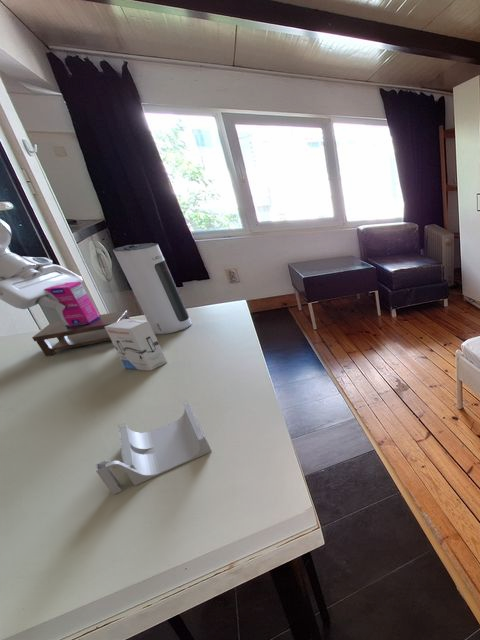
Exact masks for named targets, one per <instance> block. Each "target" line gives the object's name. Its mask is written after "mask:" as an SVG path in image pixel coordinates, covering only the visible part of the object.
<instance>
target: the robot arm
mask: <svg viewBox="0 0 480 640" xmlns="http://www.w3.org/2000/svg"><path fill="white" fill-rule="evenodd" d="M12 234H13V232H12V229H11V227H10V225H9V223H7V222H6V221H5V220H3V219H2V218H0V300H1V301H2V302H5V303H6V304H7V305H10V306H12V307H13V308H15V309H19V310H27V309H30V308H32V307H34V306H37V305H40V306H41V307H42V306H43V307H48V308H52V309H55V308H56V309H58V310H60V311H63V310H65V309H67V307H68V305H67V304H65V303H63V302H56V301H53V300H50V298H48V296H47V295H48V294H49V292H47V291H45V290H44V289H46V288H48V287H51V286H53V285H56V284H58V283H69V282H81V283H82V284H83V283H84V280H83V278H82V276H80V275H78V274H76V272H73V271H72V270H69V269H68V268H66V267H64V266H62V265H59V264H55V263H53V260H52V259H50V258H48V257H43V256H40V257H39V256H38V257H37V256H36V257H35V256H24V255H23V256H21V255H18V254H17V253H14V252H11V251H10V250H9V249H8V247H9V246H10V245H11V243H12V237H13V235H12ZM56 309H55V310H56Z"/></svg>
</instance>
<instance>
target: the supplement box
mask: <svg viewBox="0 0 480 640" xmlns="http://www.w3.org/2000/svg"><path fill="white" fill-rule="evenodd" d="M44 290H45V291H47V292H49V294H48V295H47V296H48V298H50V300H53V301H56V302H63V303H65V304H67V305H68V307H67V309H65V310H63V311H60V310H58V309H56V308H54V310H55V311H56V313H57V314H58V316H59V318H60V319H61V321H63V323H64V324H65V326H66V327H70V326H77V325H88V324H91V323H92V322H94V321H95V320H97V319H99V318H100V316H99V315H100V314H99V313H98V311H97V309H96V307H95V306H94V304H93V301H92V300H91V298H90V296H89V294H88V293H87V291H86V289H85V287H84V285H83V282H82V283H81V282H69V283H58V284H56V285H53V286H51V287H48V288H46V289H44Z"/></svg>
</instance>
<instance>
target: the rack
mask: <svg viewBox="0 0 480 640" xmlns="http://www.w3.org/2000/svg"><path fill="white" fill-rule="evenodd" d="M99 316H100V318H99V319H97V320H95V321H94V322H92V323H91V324H88V325H77V326H70V327H66V326H65V324H64V323H63V321H62V320H61V321H54V322H50V323H49V324H48V325H46V326H45V327H44V328H42V329H41V330H40V331H39V332H37V333H36V334H35V335H33V336H32V337H31V338H32V340H33V342H36V344H37V345H38V346H39V348H40V349H41V351H42V353H43V354H44V356H45V357H50V356H54V355H55V354H56V351H60V350H65V349H71V348H76V347H81V346H86V345H92V344H96V343H97V344H98V343H101V342H107V341H111V339H110V337H109V335H108V333H107V331H106V329H105V326H108V325H110V324H113V323H115V322H118V321H120V320H123V319H131V318H130V316H129V311H128V310H122V311H116V312H110V313H104V314H99ZM50 339H57V342H56V343H55V344H54V345H53V346H52V344H51V343H50V341H49V340H50Z"/></svg>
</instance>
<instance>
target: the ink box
mask: <svg viewBox="0 0 480 640" xmlns="http://www.w3.org/2000/svg"><path fill="white" fill-rule="evenodd" d="M105 329H106V331H107V333H108V335H109V337H110V339H111V340H110V341H111V342H112V344H113V346H114V348H115V350H116V352H117V354H118V356H119V358H120V361H121V362H122V365H123V366H124V368H125V369H130V370H140V371H149V372H151V371H153V370H155V369H157V368H158V367H160V366H162V365H164V364H167V363H168V360H167V358H166V356H165V354H164V352H163V350H162V348H161V345H160V343H159V341H158V339H157V336H156V334H155V333H154V332H153V330H152V328H151V326H150V323H149V322H148V321H147V320H142V319H141V320H140V319H131V318H130V319H123V320H120V321H118V322H115V323H113V324H110V325H108V326H105Z"/></svg>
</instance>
